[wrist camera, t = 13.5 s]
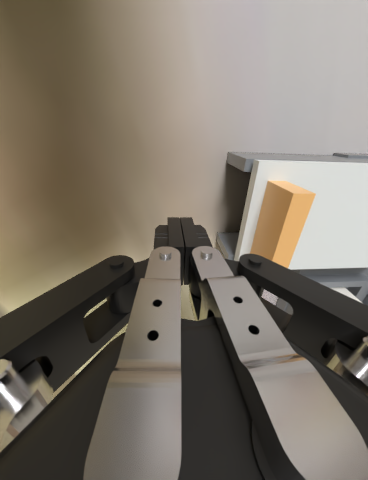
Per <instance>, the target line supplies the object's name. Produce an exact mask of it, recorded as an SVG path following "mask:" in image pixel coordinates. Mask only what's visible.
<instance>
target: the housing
mask: <svg viewBox="0 0 368 480" xmlns="http://www.w3.org/2000/svg"><path fill="white" fill-rule="evenodd" d="M254 160H288V161H322V162H356V163H368V154H347V153H334V155H333V156H330V155H300V154H270V153H239V152H228V157H227V163H228V164H230V165H232V166H234V167H236V168H238V169H240V170H241V171H243V172H252V167H253V162H254ZM238 237H239V233H217V238H216V240H217V242H218V245H219V247H220V249H221V251H222V253H223V255H224V257H225V259H228V260H234V257H235V252H236V247H237V242H238ZM292 271H294V272H297V273H299V274H301V275H303V276H305V277H307V278H309V279H312V280H314V281H316V282H318V283H320V284H322V285H324V286H327V287H329V288H338V287H345V288H346V289H347V290H348V291H349V292H351V293H352V294H353V295H354V296H355V297H356V298H357V299H359V300H360V301H361V302H362V303H363V304H365V305H367V306H368V267H367V268H331V269H296V270H292ZM276 307H278V308H280V309H281V310H283V311H285V312H286V313H288V314H291V315H292V314H293V309H292V307H291V305H290V304H289V303H288V302H286V301H284V300H283V299H281V298H279V299H278V301H277V304H276Z"/></svg>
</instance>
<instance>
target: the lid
mask: <svg viewBox="0 0 368 480" xmlns="http://www.w3.org/2000/svg"><path fill="white" fill-rule="evenodd" d="M244 254H256V255H260V256H262V257H264V258H267V259H269V260H271V261H273V262H275V263H277V264H279V265H282V266H284V267H286V268H288V269H290V270H296V269H331V268H367V267H368V163H356V162H322V161H288V160H254V162H253V167H252V172H251V177H250V182H249V187H248V192H247V197H246V202H245V207H244V212H243V217H242V222H241V227H240V232H239V237H238V242H237V247H236V252H235V257H234V261H239V258H240V256H241V255H244Z"/></svg>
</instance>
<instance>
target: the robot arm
mask: <svg viewBox="0 0 368 480" xmlns="http://www.w3.org/2000/svg"><path fill="white" fill-rule="evenodd" d="M183 281H184V285H189V299H190V303H191V307H192V311H193V315H194V319H195V321H192V320H187V319H181V285H183ZM264 289H265V290H267V291H269V292H270V293H272V294H274V295H276V296H277V297H279V298H281V299H283V300H284V301H286V302H288V303H289V304H290V305H291V307H292V309H293V314H292V315H291V314H288V313H286V312H285V311H283V310H281V309H280V308H278V307H276V306H275V305H273V304H272V303H270V302H268V301H267V300H265V299H263V298H262V297H261V296H262V293H263V290H264ZM105 298H107V301H106V302H105V303H104V304H102V305H101V306H100V307H98V308H97V309H96V310H94V311H93V312H92V313H90V314H89V315H88V316H86V317H85V318H84V316H85V315H86V313H87V312H88V311H89V310H90V309H91V308H93V307H94V306H96V305H97V304H98V303H100V302H101V301H102V300H104V299H105ZM127 323H128V326H127V329H126V332H125V333H123V334H121V335H120V336H118V337H117V338H115V339H114V340H113V341H111V342H110V343H109V344H108V345H107V346H106V347H105V348H104V349H103V350H102V351H101V352H100V353H99V354H98V355H97V356H96V357H95V358H94V359H93V360H92V361H91V362H90V363H89V364H88V365H87V366H86V367H85V368H84V369H83V370H82V371H81V372H80V373H79V374H78V375H77V376H76V377H75V378H74V379H73V380H72V381H71V382H70V383H69V384H68V385H67V386H66V387H65V388H64V389H63V390H62V391H61V392H60V393H59V394H58V395H57V396H56V397H55V398H54V399H53V400H52V397H53V393H54V392H55V391H56V390H57V389H58V388H59V387H60V386H61V385H62V384H63V383H64V382H65V381H66V380H67V379H69V377H70V376H72V375H73V374H74V373H75V372H76V371H77V370H78V369H79V368H80V367H81V366H82V365H84V364H85V363H86V362H87V361H88V360H89V359H90V358H91V357H92V356H93V355H94V354H95V353H96V352H97V351H98V350H100V349H101V348H102V347H103V346H104V345H105V344H106V343H107V342H108V341H109V340H110V339H111V338H112V337H113V336H114V335H115V334H117V333H118V332H119V331H120V330H121V329H122V328H123V327H124V326H125V325H126V324H127ZM0 480H368V306H367V305H365V304H363V303H361V302H359V301H357V300H354V299H352V298H350V297H348V296H346V295H344V294H342V293H339V292H337V291H335V290H333V289H331V288H329V287H327V286H324V285H322V284H320V283H318V282H316V281H314V280H312V279H309V278H307V277H305V276H303V275H301V274H299V273H297V272H294V271H292V270H290V269H288V268H286V267H284V266H282V265H279V264H277V263H275V262H273V261H271V260H269V259H267V258H264V257H262V256H260V255H256V254H244V255H241V256H240V258H239V261H234V260H228V259H225V258H223V256H222V254H221V253H220V251H219V250H217V249H215V248H213V247H212V244H211V242H210V239H209V238H208V235H207V232H206V230H205V228H203V227H202V226H201V225H194V223H193V219H192V218H168V225H159V226H158V227H157V228H156V229H155V239H154V250H153V251H152V252H151V254H150V258H148V259H146V260H144V261H141V262H136V263H134V261H133V259H132V258H130V257H128V256H123V255H118V256H112V257H109V258H107V259H105V260H103V261H102V262H100V263H98V264H96V265H94V266H93V267H91V268H89V269H87V270H85V271H84V272H82V273H80V274H78V275H76V276H75V277H73V278H71V279H69V280H67V281H66V282H64V283H62V284H60V285H59V286H57V287H55V288H53V289H51V290H50V291H48V292H46V293H44V294H42V295H41V296H39V297H37V298H35V299H33V300H32V301H30V302H28V303H26V304H24V305H23V306H21V307H19V308H17V309H15V310H14V311H12V312H10V313H8V314H6V315H5V316H3V317H1V318H0Z"/></svg>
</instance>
